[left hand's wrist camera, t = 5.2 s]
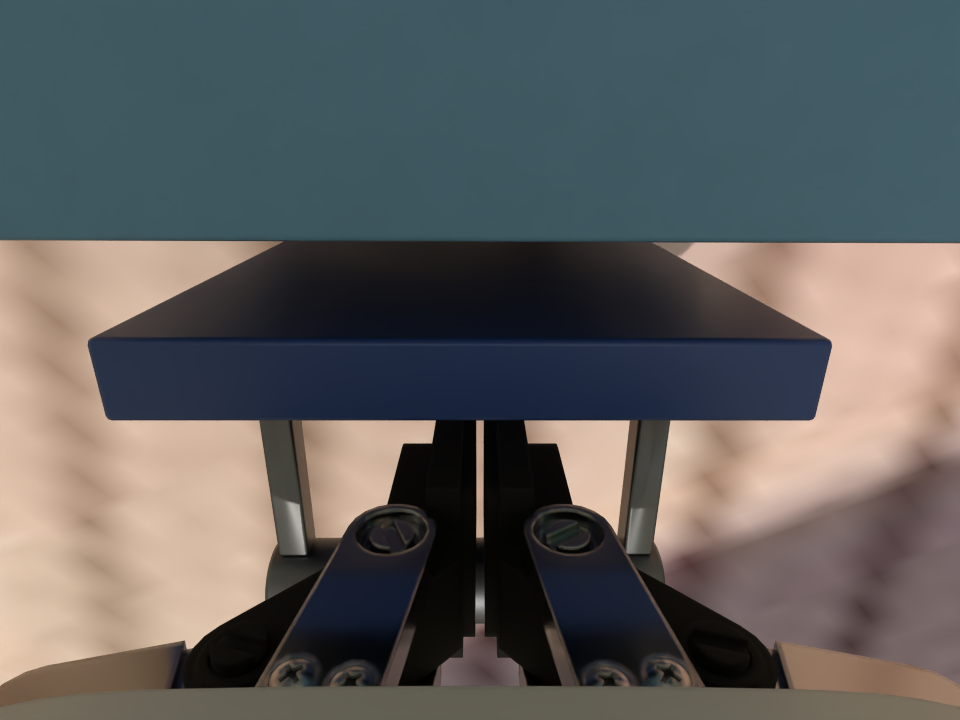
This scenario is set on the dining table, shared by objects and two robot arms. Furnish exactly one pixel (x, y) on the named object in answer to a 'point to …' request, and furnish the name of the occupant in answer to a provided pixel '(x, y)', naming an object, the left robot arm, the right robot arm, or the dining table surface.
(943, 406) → the dining table surface
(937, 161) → the cabinet
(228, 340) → the drawer
